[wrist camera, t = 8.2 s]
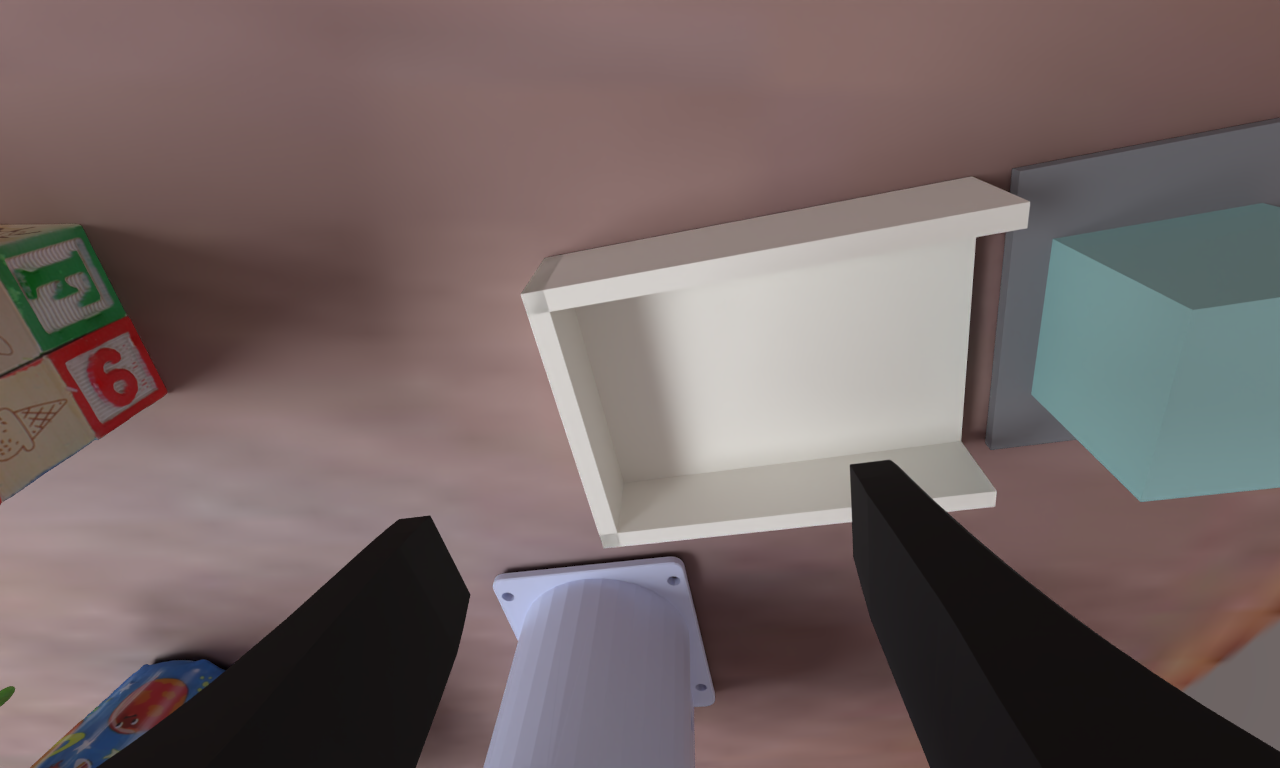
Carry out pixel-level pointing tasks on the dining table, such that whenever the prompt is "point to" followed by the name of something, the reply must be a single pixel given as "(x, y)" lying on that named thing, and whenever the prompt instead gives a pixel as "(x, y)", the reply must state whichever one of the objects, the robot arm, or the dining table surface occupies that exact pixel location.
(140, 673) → the snack cup
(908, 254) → the open box
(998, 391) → the charcoal mat
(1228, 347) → the teal block
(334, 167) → the dining table surface
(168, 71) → the dining table surface
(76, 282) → the stack of blocks
